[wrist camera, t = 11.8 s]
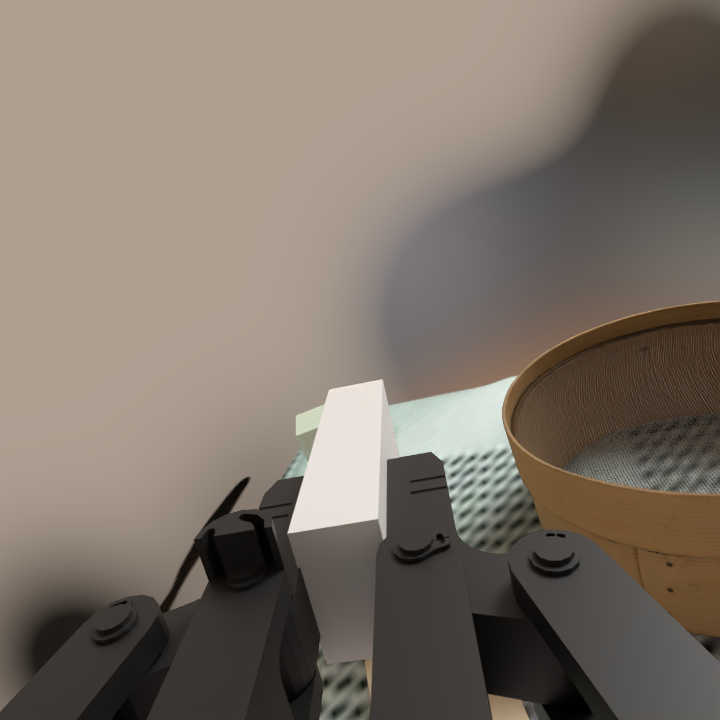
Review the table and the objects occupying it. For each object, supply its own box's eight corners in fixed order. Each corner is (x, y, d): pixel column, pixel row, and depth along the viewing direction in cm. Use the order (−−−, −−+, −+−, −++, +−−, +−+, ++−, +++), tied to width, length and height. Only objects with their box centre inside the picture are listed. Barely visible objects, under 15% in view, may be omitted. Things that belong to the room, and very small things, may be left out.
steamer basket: (1086, 629, 27) (1108, 435, 23) (553, 662, 35) (504, 523, 31) (818, 388, 48) (806, 269, 45) (529, 444, 57) (499, 347, 53)
